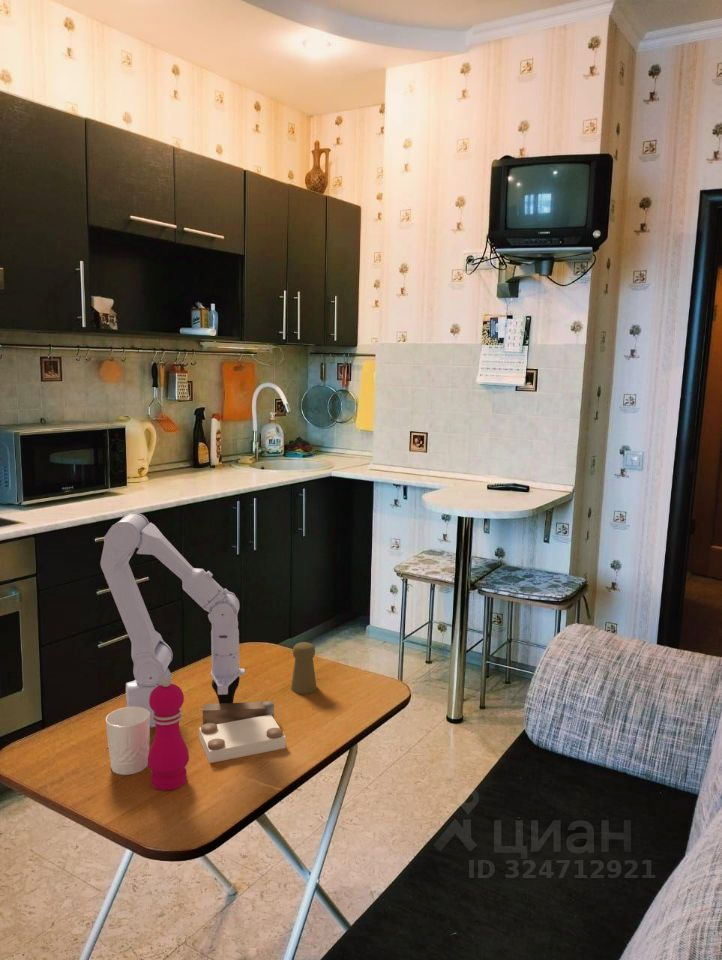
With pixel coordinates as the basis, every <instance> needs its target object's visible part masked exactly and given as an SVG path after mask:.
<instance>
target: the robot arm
mask: <svg viewBox="0 0 722 960" xmlns="http://www.w3.org/2000/svg"><path fill="white" fill-rule="evenodd" d="M103 542H104V543H103V549H102V553H101V559H100V568H101V571H102V572H103V574H104V579H105V580H106V584H107V585H108V588H109V590H110V592H111V595H112V598H113V600H114V603H115V605H116V607H117V610H118V613H119V615H120V617H121V620H122V623H123V625H124V628H125V630H126V632H127V635H128V638H129V640H130V642H131V651H130V653H131V655H130V656H131V660H132V662H133V667H132V668H133V669H132V673H133V676H134V680H132V681H129V682H126V683H125V701H126V702H125V703H126V704H125V705H126V706H125V707H142V708H145V709H147V710H148V711H149V712H150V728H151V729H152V728H156V725H155V723H154V722H153V715H152V714H153V710H152V709H151V707H150V705H149V697H150V694H151V692H152V691H153V689H155V688H156V687H157V686H159V685H161V680H162V679H163V678H164V677H169V678H170V679H171V684H173V681H172V679H173V678H172V673H171V671H170V669H169V667H168V666H169V665H170V664H171V662H172V661H173V651H172V649H171V647H170V646H169V645H168V644H167V643H166V642H165V640H164V639H163V637H162V635H161V633H159V632H158V631H156V630H155V627H154V624H153V621H152V620H151V618H150V617H151V616H150V614H149V612H148V609H147V606H146V605H145V602H144V599H143V597H142V594H141V591H140V589H139V586H138V584H137V581H136V579H135V577H134V573H133V571H132V568H131V566H130V563H129V562H130V559H131V558H132V556H133V555H134V553H135V551H136V549H138V550H137V551H136V554H137V555H152V556H154V558H156V559H158V560H159V561H160V563H162V564H163V565H164V567H167V568H168V569H169V570H170V571H171V572H172V573H173V574H175V575H176V576H177V577H178V578H179V579H180V580H181V582H182V583H181V584H182V585H181V586H182V590H183V591H184V592H185V593H187V595H188V596H190V597H191V599H192V600H194V601H195V603H197V604H198V605H199V607H201V608H202V609H203V611H206V612H208V613H207V618H208V620H209V622H210V623H211V631H210V636H211V637H210V638H211V639H210V640H211V644H210V645H211V650H210V651H211V671H210V676H211V678H212V682H211V687H212V689H213V690H214V692H215V694H216V696H217V700H218V703H234V699H235V693H236V691H237V689H238V687H239V684H240V676H244V675H245V674H246V668H244V667H243V668H240V637H239V636H240V631H239V628H238V627H239V621H238V614H239V610H240V601H239V599H238V597H237V596H236V594H235V593H234V592H232V591H229V590H228V589H227V588H223V587H222V586H221V585H220V584H219V583H218V582H217V581H216V580H215V578H213V575H214V574H213V573H212V572H211V571H210V570H207V571H205V569H204V568H197V567H196V568H195V567H193V566H192V565H191V564H190V563H189V562H188V560H187V559H186V558H185V557H184V556H183V555H182V554H181V553H180V552H179V551H178V549H176V548H175V546H174V545H173V544H172V543H171V542H170V541H169V540H168V539H167V538H166V537H165V536H164V535H163V533H162V532H161V531H160V529H159V528H158V527H157V526H156V525H155V524H154V523H152V522H149V520H148V518H147V517H146V516H145V515H144V514H142V513H139V512H129V513H126V514H125V515H123V517H122V518H120V520H119V521H117V522H115V524H112V525H111V527H110V528H109V529H108V531H107V532H106V534H105V535H104V537H103Z"/></svg>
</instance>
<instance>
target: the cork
mask: <svg viewBox="0 0 722 960" xmlns="http://www.w3.org/2000/svg"><path fill="white" fill-rule="evenodd" d="M292 655H293V658H294V662H293V663H294V664H293V665H294V666H293V672H292V679H291V688H290V690H291V691H292V692H293V693H295V694H298V695H309V694H313V693H314V692H316V691H317V688H318V687H317V680H316V672H315V665H314V657H315V656H316V649H315V646H314V644H312V643H310V642H307V641H304V642H303V641H301V642H298V643H296V644H294V646H293V648H292Z"/></svg>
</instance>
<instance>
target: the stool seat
mask: <svg viewBox="0 0 722 960" xmlns="http://www.w3.org/2000/svg"><path fill="white" fill-rule="evenodd" d="M198 732H199V733H198V737H199V741H200V743H201V745H202V747H203V750H204V753H205V755H206V757H207V760H208V763H209V764H212V763H216V762H222V761H227V760H231V759H239V758H242V757H246V756H251V755H257V754H262V753H267V752H272V751H278V750H283V749H286V745H287V744H286V735H285V734H284V730H283V729H282V728H280V725H279V724H278V723H277V721H276V719H275V717H274V718H273V717H272V715H265V716H260V717H254V718H249V719H243V720H238V721H232V722H227V723H221V724H214V723H207V724H204V725H203V724H202V725H201V726H200V727H198Z"/></svg>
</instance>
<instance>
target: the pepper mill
mask: <svg viewBox="0 0 722 960" xmlns="http://www.w3.org/2000/svg"><path fill="white" fill-rule="evenodd" d="M184 697H185V696H184V692H183V690H182V689H181V688H180V686H178V685H177V684H174V683H172V684H171V679H170V678H169V677H164V678H163V679H162V680H161V685H159V686H157V687H156V688H155V689H153V691H152V692H151V694H150V697H149V705H150V707H151V709H152V710H153V714H152V715H153V722H154V723H155V725H156V727H155V734H154V738H153V741H152V744H151V745H150V747H149V755H148V765H147V767H149V770H150V771H151V773H150V781H151V782H150V783H151V786H152V787H153V788H154V789H156V790H159V791H172V790H173V791H174V790H176V789H178V788H180V787H182V786H183V785H184V784H185V783H186V781H187V779H188V775H187V774H188V773H187V772H188V771H187V768H186V766H187V765H188V763H189V760H190V754H189V749H188V746H187V744H186V742H185V741H184V737H183V735H182V734H181V730H180V721H181V718H182V707H183V705H184V702H185V701H184V700H185V698H184Z"/></svg>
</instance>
